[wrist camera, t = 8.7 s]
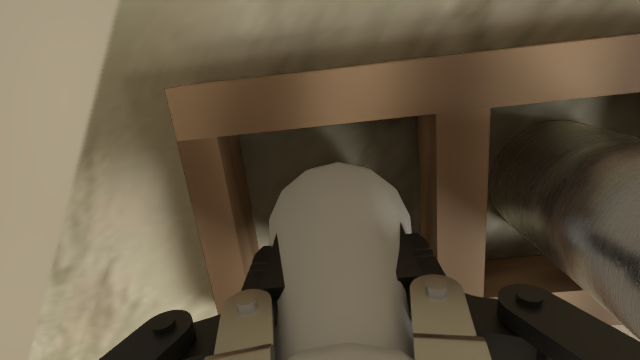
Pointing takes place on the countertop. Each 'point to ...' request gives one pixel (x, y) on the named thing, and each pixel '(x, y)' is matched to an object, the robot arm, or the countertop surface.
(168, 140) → the countertop surface
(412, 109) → the spice rail
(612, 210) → the pepper shaker
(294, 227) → the salt shaker
